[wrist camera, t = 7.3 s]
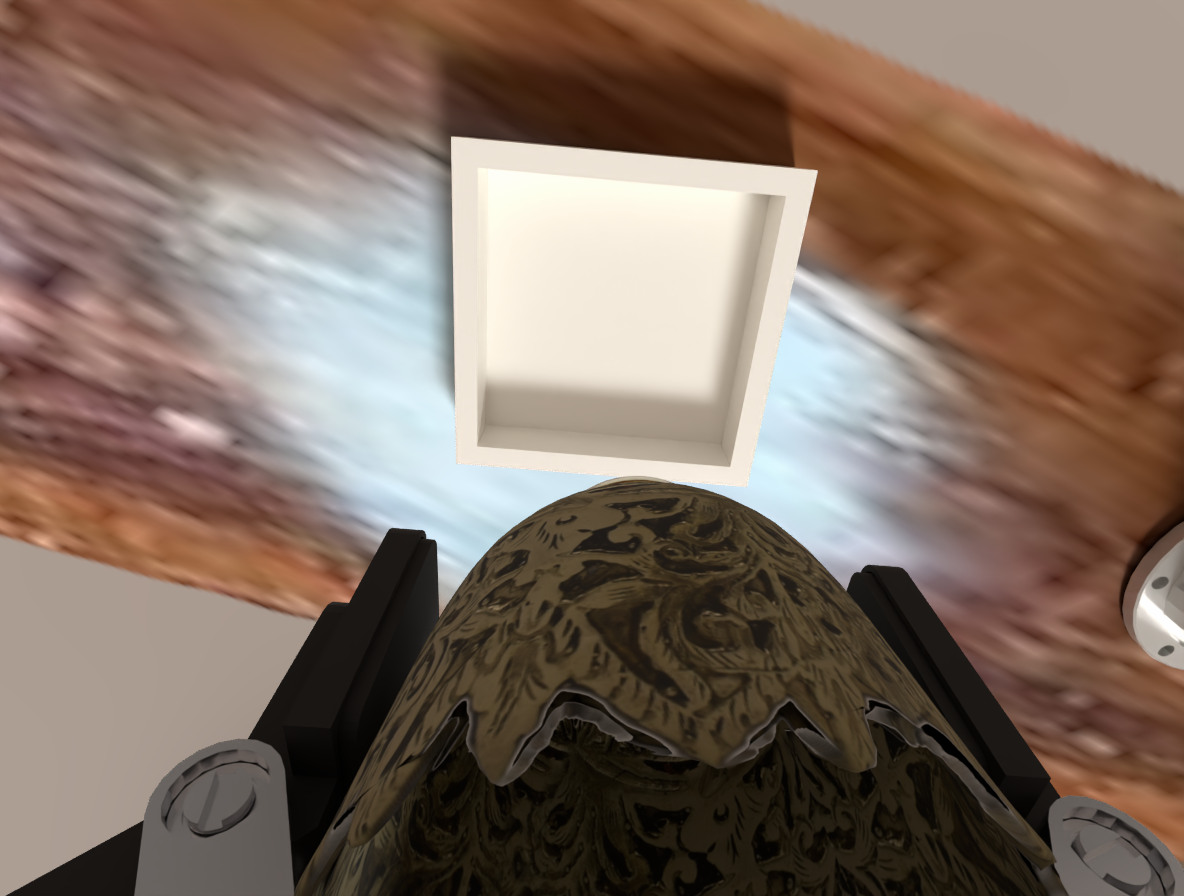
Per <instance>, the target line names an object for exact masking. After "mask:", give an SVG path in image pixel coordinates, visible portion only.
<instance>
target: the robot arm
mask: <svg viewBox="0 0 1184 896" xmlns="http://www.w3.org/2000/svg"><path fill="white" fill-rule="evenodd" d="M846 592H847V593H848V594H849V595H850V596H851V598H852V599H853V600H854V601H855V602H856V604H857V605H858V606H859V607H860V609H861V610H862V611H863V612H864V614H865V615H866V616H867V617H868V619H869V620H870V621H871V623H872V624H873V625H874V626H875V628H876V629H877V630H878V632H879V633H880V634H881V636H882V637H883V638H884V639H885V641H886V642H887V643H888V645H889V646H890V647H891V649H892V650H893V651H894V652H895V654H896V655H897V656H898V658H899V659H900V660H901V662H902V663H903V664H904V665H905V667H906V668H907V669H908V671H909V672H910V673H911V675H912V676H913V677H914V679H915V680H916V681H917V683H918V684H919V685H920V687H921V688H922V689H923V690H924V692H925V693H926V694H927V696H928V697H929V698H930V700H931V701H932V702H933V704H934V705H935V706H936V708H937V709H938V710H939V712H940V713H941V714H942V716H943V717H944V718H945V720H946V721H947V722H948V723H949V725H950V726H951V727H952V729H953V730H954V731H955V733H956V734H957V735H958V737H959V738H960V739H961V741H962V742H963V743H964V745H965V746H966V747H967V749H968V750H969V751H970V752H971V754H972V755H973V756H974V758H975V759H976V760H977V762H978V763H979V764H980V765H981V767H982V768H983V769H984V771H985V772H986V773H987V775H988V776H989V777H990V779H991V780H992V781H993V782H994V784H995V785H996V786H997V787H998V789H999V790H1000V791H1001V792H1002V794H1003V795H1004V796H1005V797H1006V799H1007V800H1008V801H1009V802H1010V804H1011V805H1012V806H1013V807H1014V809H1015V810H1016V811H1017V812H1018V813H1019V814H1020V815H1021V816H1022V818H1023V819H1024V820H1025V821H1026V822H1027V823H1028V824H1029V825H1030V827H1031V828H1032V829H1033V830H1034V831H1035V832H1036V833H1037V835H1038V836H1039V837H1040V838H1041V839H1042V840H1043V841H1044V843H1045V844H1046V845H1047V846H1048V848H1049V849H1050V850H1051V852H1052V853H1053V855H1054V856H1055V858H1056V861H1057V863H1053V866H1054V867H1055V868H1056V870H1057V872H1058V873H1059V876H1060V880H1061V882H1062V884H1063V885H1064V887H1065V889H1066V891H1067V893H1068V894H1069V896H1184V870H1183V868H1182V866H1181V864H1180V863H1179V862H1178V860H1177V859H1176V858H1175V857H1174V855H1173V854H1172V853H1171V851H1170V850H1169V849H1168V848H1167V846H1166V845H1165V844H1164V843H1162V842H1161V841H1160V840H1159V839H1158V838H1157V837H1156V836H1155V835H1154V834H1153V833H1152V832H1151V831H1150V830H1148V829H1147V828H1146V827H1145V826H1143V825H1142V824H1140V823H1139V822H1137V821H1136V820H1135V819H1133V818H1132V817H1130V816H1129V815H1127V814H1126V813H1124V812H1122V811H1120V810H1118V809H1116V808H1114V807H1112V806H1110V805H1108V804H1106V803H1104V802H1101V801H1097V800H1094V799H1091V798H1088V797H1081V796H1066V797H1063V798H1061V797H1060V796H1059V794H1058V793H1057V791H1056V790H1055V788H1054V787H1053V786H1052V784H1051V783H1050V779H1051V778H1050V776H1049V775H1048V773H1047V772H1046V770H1045V769H1044V768H1043V766H1042V765H1041V763H1040V762H1039V760H1038V759H1037V758H1036V756H1035V755H1034V753H1033V752H1032V750H1031V749H1030V748H1029V746H1028V745H1027V743H1026V742H1025V740H1024V739H1023V738H1022V736H1021V735H1020V733H1019V732H1018V730H1017V729H1016V728H1015V726H1014V725H1013V723H1012V722H1011V720H1010V719H1009V718H1008V716H1007V715H1006V713H1005V712H1004V710H1003V709H1002V708H1001V706H1000V705H999V703H998V702H997V700H996V699H995V698H994V696H993V695H992V693H991V692H990V690H989V689H988V688H987V686H986V685H985V683H984V682H983V680H982V679H981V678H980V676H979V675H978V673H977V672H976V670H975V669H974V668H973V666H972V665H971V663H970V662H969V661H968V659H967V658H966V656H965V655H964V653H963V652H962V651H961V649H960V648H959V646H958V645H957V643H956V642H955V641H954V639H953V638H952V636H951V635H950V633H949V632H948V631H947V629H946V628H945V626H944V625H943V623H942V622H941V621H940V619H939V618H938V616H937V615H936V613H935V612H934V611H933V609H932V608H931V606H930V605H929V603H928V602H927V601H926V599H925V598H924V596H923V595H922V593H921V592H920V591H919V589H918V588H917V586H916V585H915V583H914V582H913V581H912V579H911V578H910V576H909V575H908V573H907V572H906V571H905V570H904V569H903V568H900V567H891V566H878V565H867V566H865V567H864V568H863V569H862V571H861V572H856V573H854V574H853V575H852V577H851V580H850V583H849V586H848V588H847V591H846ZM1122 610H1123V618H1124V624H1125V626H1126V628H1127V630H1128V632H1129V635H1130V636H1131V637H1132V638H1133V639H1134V640H1135V642H1136V643H1137V644H1138V645H1139V646H1140V647H1141V648H1142V649H1143V650H1144V651H1146V652H1147V653H1148V654H1149V655H1150V656H1151V657H1152V658H1154V659H1155V660H1157V661H1159V662H1161V663H1163V664H1165V665H1168V666H1170V667H1173V668H1177V669H1181V670H1184V521H1183V522H1181V523H1180V524H1178V525H1177V526H1175V527H1174V528H1173V529H1172V530H1171V531H1170V532H1168V533H1167V534H1166V535H1165V536H1164V537H1162V538H1161V539H1160V540H1159V541H1158V542H1157V543H1156V544H1155V545H1154V546H1153V547H1152V548H1151V549H1150V551H1149V552H1148V553H1147V554H1146V555H1145V556H1144V557H1143V558H1142V560H1141V562H1140V563H1139V565H1138V566H1137V568H1136V569H1135V571H1134V572H1133V574H1132V576H1131V578H1130V581H1129V583H1128V586H1127V588H1126V591H1125V594H1124V600H1123V607H1122ZM438 619H439V596H438V566H437V543H436V541H435V540H431V539H426V534H425V532H424V531H423V530H412V529H399V528H391V529H389V531H388V532H387V534H386V536H385V538H384V540H383V541H382V543H381V545H380V547H379V549H378V551H377V552H376V554H375V556H374V558H373V560H372V562H371V563H370V565H369V567H368V569H367V571H366V573H365V575H364V576H363V578H362V580H361V582H360V584H359V586H358V587H357V589H356V591H355V593H354V595H353V597H352V599H351V600H350V602H349V603H342V602H332V603H330V604H328V605H327V607H326V608H325V609H324V611H323V612H322V614H321V615H320V617H319V619H318V621H317V622H316V624H315V626H314V627H313V629H312V631H311V632H310V634H309V636H308V638H307V640H306V641H305V643H304V645H303V646H302V648H301V649H300V651H299V653H298V655H297V656H296V658H295V660H294V661H293V663H292V665H291V666H290V668H289V670H288V672H287V673H286V675H285V677H284V679H283V680H282V682H281V683H280V685H279V687H278V689H277V690H276V692H275V694H274V695H273V697H272V699H271V700H270V702H269V704H268V706H267V707H266V709H265V711H264V712H263V714H262V716H261V717H260V719H259V721H258V723H257V724H256V726H255V728H254V729H253V731H252V733H251V734H250V736H249V738H248V739H235V740H230V741H224V742H219V743H216V744H214V745H211V746H209V747H206V748H204V749H202V750H199V751H197V752H196V753H194V754H193V755H191V756H189V757H188V758H186V759H185V760H183V761H182V762H180V763H179V764H178V765H176V766H175V767H174V768H173V769H172V770H171V771H170V772H169V773H168V774H167V775H166V776H165V777H164V778H163V779H162V780H161V782H160V783H159V785H158V786H157V788H156V789H155V791H154V792H153V793H152V795H151V797H150V799H149V803H148V806H147V809H146V812H145V815H144V820H143V821H142V822H140V823H138V824H136V825H134V826H133V827H131V828H129V829H127V830H125V831H124V832H121V833H120V834H118V835H116V836H114V837H112V838H110V839H109V840H107V841H105V842H103V843H101V844H100V845H98V846H96V847H94V848H92V849H90V850H89V851H87V852H85V853H83V854H81V855H79V856H78V857H76V858H74V859H72V860H70V861H68V862H67V863H65V864H63V865H61V866H59V867H57V868H56V869H54V870H52V871H50V872H48V873H46V874H45V875H43V876H41V877H39V878H37V879H36V880H34V881H32V882H30V883H28V884H26V885H25V886H23V887H21V888H19V889H17V890H15V891H14V892H12V893H10V894H8V895H6V896H294V893H295V889H296V887H297V885H298V882H299V880H300V878H301V877H302V875H303V873H304V871H305V869H306V867H307V866H308V864H309V862H310V860H311V859H312V857H313V855H314V854H315V852H316V850H317V848H318V847H319V845H320V843H321V842H322V840H323V838H324V836H325V834H326V832H327V831H328V829H329V827H330V825H331V823H332V821H333V820H334V818H335V816H336V814H337V812H338V810H339V808H340V806H341V804H342V802H343V800H344V798H345V796H346V794H347V792H348V790H349V788H350V786H351V784H352V782H353V780H354V778H355V776H356V774H357V772H358V771H359V769H360V767H361V765H362V763H363V761H364V759H365V757H366V755H367V753H368V751H369V749H370V747H371V745H372V743H373V741H374V739H375V738H376V736H377V734H378V732H379V730H380V728H381V726H382V724H383V722H384V720H385V718H386V716H387V715H388V713H389V711H390V709H391V707H392V705H393V703H394V701H395V699H396V697H397V695H398V693H399V691H400V690H401V688H402V686H403V684H404V682H405V680H406V678H407V676H408V674H409V673H410V671H411V669H412V667H413V665H414V663H415V661H416V659H417V657H418V656H419V654H420V652H421V650H422V648H423V646H424V644H425V643H426V641H427V639H428V637H429V635H430V633H431V632H432V630H433V628H434V626H435V625H436V623H437V621H438Z"/></svg>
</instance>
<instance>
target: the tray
mask: <svg viewBox="0 0 1184 896" xmlns="http://www.w3.org/2000/svg"><path fill="white" fill-rule="evenodd" d="M451 162H452V226H453V291H454V356H455V421H456V464H468V465H481V466H493V467H506V468H518V469H530V470H543V471H555V472H568V473H580V474H593V475H605V476H617V477H627V476H647V477H654V478H658V479H663V480H667V481H679V482H692V483H704V484H717V485H729V486H742V487H747V485H748V480H749V476H750V471H751V467H752V462H753V458H754V453H755V449H756V444H757V440H758V435H759V431H760V427H761V422H762V418H763V413H764V409H765V404H766V400H767V395H768V391H769V386H770V382H771V377H772V373H773V369H774V364H775V360H776V355H777V351H778V346H779V342H780V337H781V333H782V328H783V324H784V319H785V315H786V311H787V306H788V302H789V297H790V293H791V288H792V284H793V279H794V275H795V270H796V266H797V261H798V257H799V253H800V248H801V244H802V239H803V235H804V230H805V226H806V221H807V217H808V212H809V208H810V203H811V199H812V194H813V190H814V186H815V181H816V177H817V172H818V171H817V170H811V169H804V168H798V167H788V166H777V165H767V164H756V163H745V162H734V161H724V160H713V159H702V158H691V157H680V156H670V155H659V154H648V153H637V152H627V151H616V150H605V149H594V148H584V147H573V146H562V145H551V144H540V143H530V142H519V141H508V140H497V139H487V138H476V137H451Z"/></svg>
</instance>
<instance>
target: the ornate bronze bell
mask: <svg viewBox="0 0 1184 896" xmlns="http://www.w3.org/2000/svg"><path fill="white" fill-rule="evenodd" d="M1053 863H1057V861H1056V858H1055V856H1054V855H1053V853H1052V852H1051V850H1050V849H1049V848H1048V846H1047V845H1046V844H1045V843H1044V841H1043V840H1042V839H1041V838H1040V837H1039V836H1038V835H1037V833H1036V832H1035V831H1034V830H1033V829H1032V828H1031V827H1030V825H1029V824H1028V823H1027V822H1026V821H1025V820H1024V819H1023V818H1022V816H1021V815H1020V814H1019V813H1018V812H1017V811H1016V810H1015V809H1014V807H1013V806H1012V805H1011V804H1010V802H1009V801H1008V800H1007V799H1006V797H1005V796H1004V795H1003V794H1002V792H1001V791H1000V790H999V789H998V787H997V786H996V785H995V784H994V782H993V781H992V780H991V779H990V777H989V776H988V775H987V773H986V772H985V771H984V769H983V768H982V767H981V765H980V764H979V763H978V762H977V760H976V759H975V758H974V756H973V755H972V754H971V752H970V751H969V750H968V749H967V747H966V746H965V745H964V743H963V742H962V741H961V739H960V738H959V737H958V735H957V734H956V733H955V731H954V730H953V729H952V727H951V726H950V725H949V723H948V722H947V721H946V720H945V718H944V717H943V716H942V714H941V713H940V712H939V710H938V709H937V708H936V706H935V705H934V704H933V702H932V701H931V700H930V698H929V697H928V696H927V694H926V693H925V692H924V690H923V689H922V688H921V687H920V685H919V684H918V683H917V681H916V680H915V679H914V677H913V676H912V675H911V673H910V672H909V671H908V669H907V668H906V667H905V665H904V664H903V663H902V662H901V660H900V659H899V658H898V656H897V655H896V654H895V652H894V651H893V650H892V649H891V647H890V646H889V645H888V643H887V642H886V641H885V639H884V638H883V637H882V636H881V634H880V633H879V632H878V630H877V629H876V628H875V626H874V625H873V624H872V623H871V621H870V620H869V619H868V617H867V616H866V615H865V614H864V612H863V611H862V610H861V609H860V607H859V606H858V605H857V604H856V602H855V601H854V600H853V599H852V598H851V596H850V595H849V594H848V593H847V592H846V590H845V589H844V588H843V587H842V586H841V584H840V583H839V582H838V581H837V580H836V579H835V578H834V577H833V576H832V575H831V574H830V573H829V572H828V571H827V569H826V568H825V567H824V566H823V565H822V564H821V563H820V562H819V561H818V560H817V559H816V558H815V557H814V556H813V555H812V554H811V553H810V552H809V551H808V550H807V549H806V548H805V547H804V546H803V545H801V544H800V543H799V542H798V541H797V540H796V539H794V538H793V537H792V536H791V535H790V534H788V533H787V532H786V531H785V530H783V529H782V528H781V527H780V526H778V525H777V524H776V523H774V522H773V521H771V520H770V519H768V518H766V517H765V516H763V515H762V514H760V513H758V512H757V511H755V510H753V509H751V508H749V507H747V506H744V505H742V504H740V503H738V502H736V501H734V500H732V499H730V498H727V497H725V496H722V495H719V494H716V493H714V492H711V491H708V490H704V489H700V488H696V487H691V486H687V485H681V484H674V483H672V482H669V481H666V480H663V479H658V478H654V477H647V476H627V477H620V478H614V479H611V480H607V481H604V482H602V483H599V484H597V485H595V486H593V487H591V488H589V489H587V490H585V491H581V492H578V493H575V494H573V495H570V496H567V497H565V498H562V499H560V500H557V501H555V502H554V503H552V504H550V505H548V506H546V507H544V508H542V509H540V510H538V511H537V512H535V513H534V514H532V515H531V516H529V517H528V518H526V519H525V520H523V521H522V522H520V523H519V524H518V525H516V526H515V527H513V528H512V529H511V530H510V531H508V532H507V533H506V534H505V535H504V536H502V537H501V538H500V539H499V540H498V541H497V542H496V543H495V544H494V545H493V546H492V547H491V548H490V549H489V550H488V551H487V552H486V554H485V555H484V556H483V557H482V558H481V559H480V560H479V562H478V563H477V564H476V565H475V566H474V567H473V569H472V570H471V571H470V573H469V574H468V575H467V577H466V578H465V580H464V581H463V582H462V584H461V585H460V587H459V588H458V590H457V591H456V593H455V594H454V596H453V597H452V599H451V600H450V602H449V603H448V605H447V606H446V608H445V609H444V611H443V613H442V614H441V616H440V618H439V619H438V621H437V623H436V625H435V626H434V628H433V630H432V632H431V633H430V635H429V637H428V639H427V641H426V643H425V644H424V646H423V648H422V650H421V652H420V654H419V656H418V657H417V659H416V661H415V663H414V665H413V667H412V669H411V671H410V673H409V674H408V676H407V678H406V680H405V682H404V684H403V686H402V688H401V690H400V691H399V693H398V695H397V697H396V699H395V701H394V703H393V705H392V707H391V709H390V711H389V713H388V715H387V716H386V718H385V720H384V722H383V724H382V726H381V728H380V730H379V732H378V734H377V736H376V738H375V739H374V741H373V743H372V745H371V747H370V749H369V751H368V753H367V755H366V757H365V759H364V761H363V763H362V765H361V767H360V769H359V771H358V772H357V774H356V776H355V778H354V780H353V782H352V784H351V786H350V788H349V790H348V792H347V794H346V796H345V798H344V800H343V802H342V804H341V806H340V808H339V810H338V812H337V814H336V816H335V818H334V820H333V821H332V823H331V825H330V827H329V829H328V831H327V832H326V834H325V836H324V838H323V840H322V842H321V843H320V845H319V847H318V848H317V850H316V852H315V854H314V855H313V857H312V859H311V860H310V862H309V864H308V866H307V867H306V869H305V871H304V873H303V875H302V877H301V878H300V880H299V882H298V885H297V887H296V889H295V893H294V896H1069V894H1068V893H1067V891H1066V889H1065V887H1064V885H1063V884H1062V882H1061V880H1060V876H1059V873H1058V872H1057V870H1056V868H1055V867H1054V866H1053Z"/></svg>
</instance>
